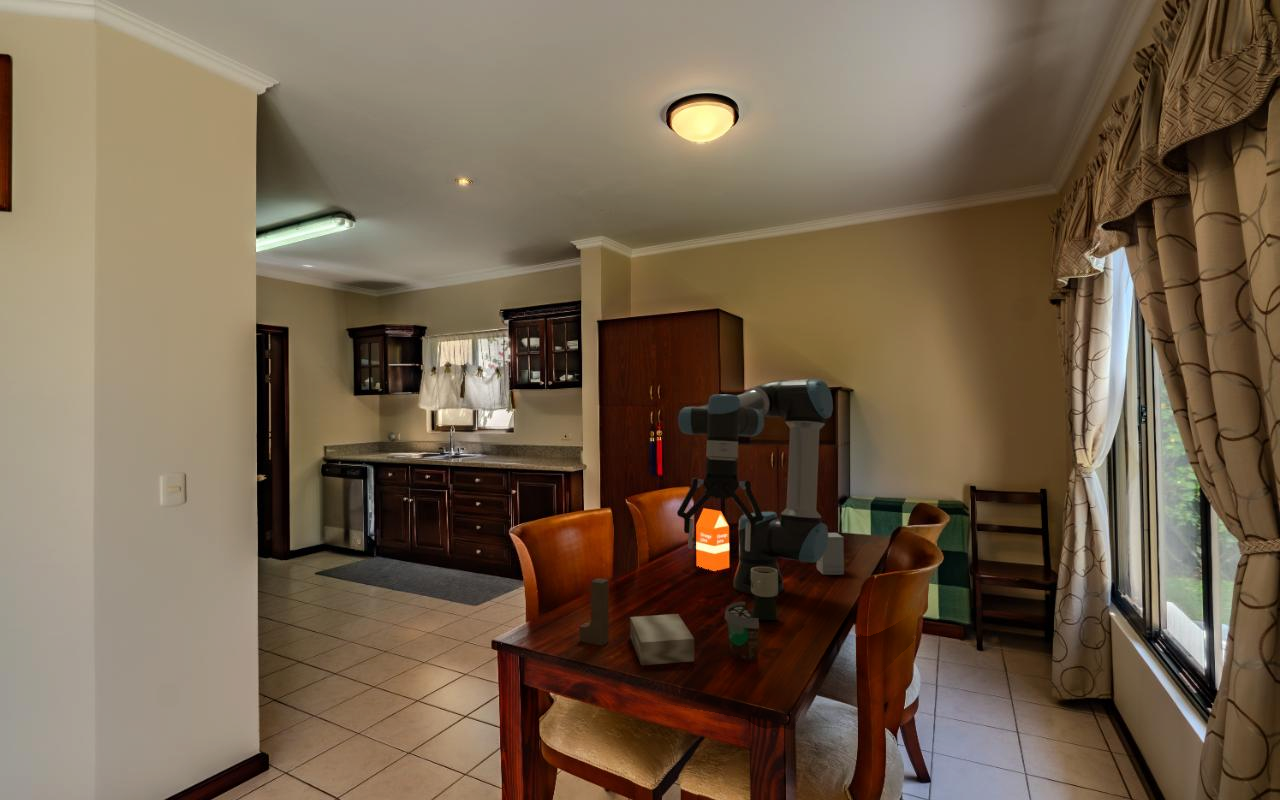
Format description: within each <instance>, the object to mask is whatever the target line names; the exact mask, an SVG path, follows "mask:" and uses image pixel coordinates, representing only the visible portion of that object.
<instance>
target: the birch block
mask: <svg viewBox="0 0 1280 800" xmlns="http://www.w3.org/2000/svg"><path fill="white" fill-rule="evenodd" d="M629 622H630V627H629V628H630V629H629V632H630V639H631V643H632V644H633V645H632V646H633V648H634V650H635V654H636V655H637V657H638V660H639V663H640V665H641V666H651V665H663V664H673V663H675V664H676V663H686V662H687V663H688V662H695V637H694V636H693V634H692V633H691V632H690V630H689V628H688V627H687V625H686V624H685V622H684V621H683V619H682V618H681V616H680V615H679V614H678V613H670V614H659V615H658V614H657V615H642V616H639V615H638V616H631V617H629Z"/></svg>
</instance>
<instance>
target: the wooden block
mask: <svg viewBox="0 0 1280 800" xmlns="http://www.w3.org/2000/svg"><path fill="white" fill-rule="evenodd" d="M609 581H610V580H609V579H608V578H607V579H606V578H599V577H598V578H595V579H593V580H592V581H591V580H590V622H585V623H583V624H582V625H579V629H578V631H579V632H578V634H579V637H578V638H579V643H585V644H589V645H595V646H599V647H604V646H605V645H606V644H608V643H609V642H610V626H609V625H610V624H609V622H610V619H609V617H610V615H609V613H610V605H609V603H610V601H609V599H610V598H609V596H610V595H609V593H610V591H609V587H610V586H609V585H610V584H609ZM607 642H608V643H607Z"/></svg>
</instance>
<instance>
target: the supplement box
mask: <svg viewBox="0 0 1280 800" xmlns="http://www.w3.org/2000/svg"><path fill="white" fill-rule="evenodd" d="M844 542H845V541H844V536H842V535H841V534H840V533H838V532H828V542H827V546H826V550H825V552H824V554H823V556H822V557H821V559H820V560H819V561H817V562H816V570H817V571H819V572H820V574H822V575H823V576H824V575H825V576H835V575H837V576H840V575H841V576H843V575H844V574H845V550H844V549H845V548H844V544H845V543H844ZM844 576H845V575H844Z"/></svg>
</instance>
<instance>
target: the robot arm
mask: <svg viewBox="0 0 1280 800" xmlns="http://www.w3.org/2000/svg"><path fill="white" fill-rule="evenodd" d="M833 410H834V402H833V396H832V392H831V389H830V387H829V385H828V384H827V383H826V382H825V381H824V380H822V379H813V378H812V379H811V378H807V379H791V380H790V379H788V380H773V381H769V382H767V383H766V382H765V383H763V384H759V385H756V386H753V387H752V386H751V387H749V388H748V389H746V390H744V392H743V393H741V394H737V395H735V394H719V393H717V394H712V395H710V396H709V398H708V403H707V404H704V405H701V406H700V405H699V406H685V407H683V408H681V410H680V411H679V413H678V417H677V421H678V422H677V423H678V428H679V430H680V431H681V433H682V434H685V435H692V436H697V435H698V436H699V435H701V436H702V435H703V436H707V437H706V449H705V450H706V454H705V456H706V457H707V459H706V460H705V476H704V479H700V478H696V477H693V478H692V479H691V485H690V488H689V490H688V492H687V494H686V496H685V497H684V499H683V500H682V502H681V504H680V506H679V508H678V510H677V512H676V513H677V516H678V517H680V518H682V519H683V524H684V525H683V531H684V534H687V535H688V536H687V537H688V538H687V548H688V549H693V530H694V529H693V528H694V526H693V525H694V520H693V519H692V517H693V516H694V515H695V514H696V512H697V511H698V510H699V509H700V508H701V507H702V506H703V505H704V504H705V503H706V502H707V501H708V500H709V499H710V498H711V497H712V498H714V499H720V498H721V499H726V500H727V499H730V498H731V499H732V500H733V501H734V502H735V504H736V505H737V506H738V508H739V509H740V511H741V512H742V515H741V516H740V517H739V520H738V529H737V530H738V561H739V562H738V565H737V567H736V571H735V573H734V574H735V575H734V577H733V588H734V589H735V590H737V591H738V592H741V593H744V594H749V595H754V594H753V593H752V592H751V568H754V567H771V568H775V569H777V570H778V594H779V593H781V592H783V591H784V580H783V577H782V574H781V571H780V568H779V565H778V558H779V559H786V560H792V561H798V562H800V563H817V561H819V560H820V559H821V557H822V556H823V554H824V552H825V550H826V546H827V542H828V533H829V531H828V526H827V524H825V523H823V522H822V516H821V514H820V513H819V512H818V511H817V504H818V503H817V500H818V498H817V497H818V473H819V472H818V471H819V452H820V451H819V447H820V430H821V429H822V428H823V427H824V426H825V425H826V419H829V418H831V416H832V415H833ZM766 417H767V418H782V419H785V422H784V423H785V424H786V425H787V427H789V441H788V442H789V448H788V464H787V465H788V466H787V490H786V493H787V495H786V508H785V509H784V510H783V511H781V514H780V518H779V517H778V514H777V513H776V512H775V511H761V509H760V507H759V505H758V502H757V501H756V500H757V499H756V497H755V496H754V494H753V492H752V487H751V481H750V480H743V481H742V480H740V481H739V480H738V463H739V462H738V461H737V460H736V459H738V457H739V437H744V438H750V437H751V438H752V437H756V436H758V435H759V434H760V433H761V432H762V431H763V429H764V426H765V418H766ZM702 485H703V486H704V488H705V489H706V491H705V492H704V493H703V494H702V495H701V497H700V498H699V499H698V500H696V502H695V503H694V504H693V505H692V506H691V507H690V509H688V511H687V512H686V509H687V507H688V506H689V504H690V502H691V500H692V499H693V497H694V494H695V493H696V491H697V489H699V488H701V486H702ZM739 487H740V488H741V490H742V491H744V493H745V495H746V497H747V499H748V501H749V505H750V506H751V508H752V511H753V512H751V511H750V510H749V509H748V508H747V506H746V505H745V504H744V503H743V501H742V500H741V498H739V496H738V495H737V494H736V491H737V489H738V488H739Z"/></svg>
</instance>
